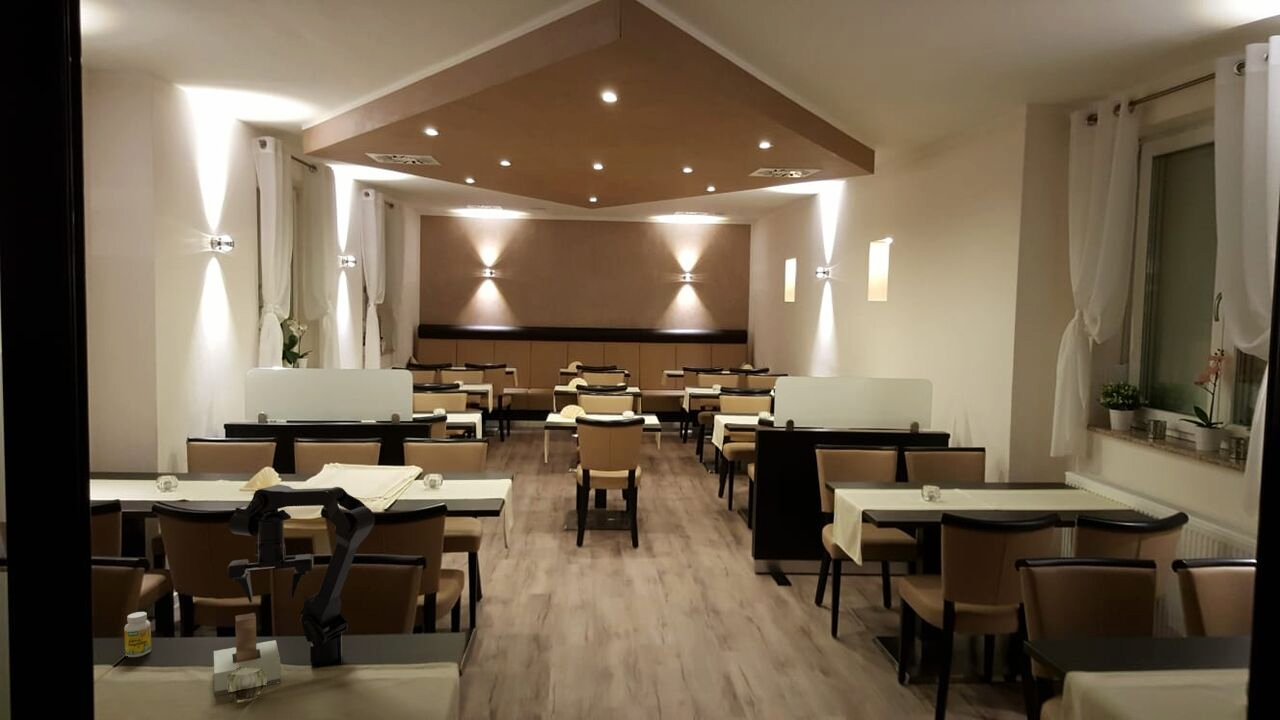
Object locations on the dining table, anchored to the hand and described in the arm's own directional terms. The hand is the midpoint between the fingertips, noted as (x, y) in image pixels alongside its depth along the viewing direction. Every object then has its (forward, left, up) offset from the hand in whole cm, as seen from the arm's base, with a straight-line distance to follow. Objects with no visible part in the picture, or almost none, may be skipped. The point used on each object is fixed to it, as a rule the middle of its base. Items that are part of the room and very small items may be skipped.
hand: (272, 600), depth 188 cm
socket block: (+4, +13, -13) cm, 19 cm away
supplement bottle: (+31, -10, -13) cm, 35 cm away
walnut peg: (+4, +13, -12) cm, 18 cm away
